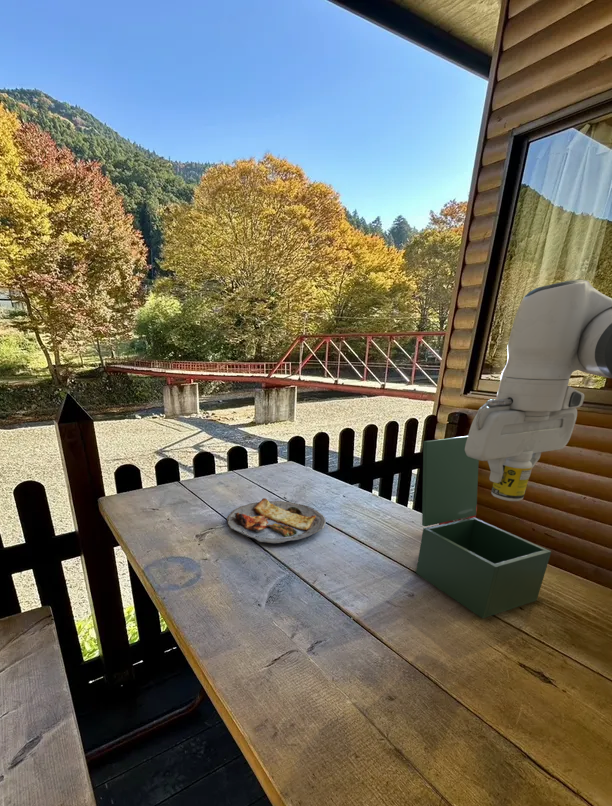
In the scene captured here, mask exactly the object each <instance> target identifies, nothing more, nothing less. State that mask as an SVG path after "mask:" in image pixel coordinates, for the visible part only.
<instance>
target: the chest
mask: <svg viewBox="0 0 612 806" xmlns="http://www.w3.org/2000/svg"><path fill="white" fill-rule="evenodd" d="M420 540H421V541H420V544H419V545H420V546H419V552H418V559H417V564H416V569H415V574H416V575H417V576H419V577H420V578H422V579H424V580H425V581H426V582H428V583H430V584H431V585H433V587H435V588H437V589H438V590H440V591H442V592H443V593H444V594H446V595H448V596H449V597H451V599H453V600H454V601H456V602H457V603H459V604H460V605H462V606H463V607H465V608H466V609H468V610H470V611H471V612H472V613H474V614H475V615H477V616H478V617H480V618H481V619H486V618H490V617H493V616H495V615H499V614H502V613H504V612H506V611H509V610H512V609H516V608H519V607H522V606H524V605H527V604H530V603H534V602H537V601H538V598H539V595H540V591H541V588H542V585H543V581H544V577H545V576H546V575H545V574H546V571H547V568H548V565H549V562H550V558H551V554H552V550H550V549H547V548H545V547H543V546H540V545H538V544H535V543H534V542H531V541H529V540H527V539H524V538H522V537H520V536H518V535H516V534H513V533H511V532H509V531H507V530H504V529H502V528H499V527H497V526H495V525H493V524H490V523H489V522H486V521H484V520H482V519H480V518H477V517H473V518H468V519H464V520H459V521H455V522H450V523H445V524H441V525H439V524H435V525H431V526H426V527H423V529H422V535H421V539H420Z"/></svg>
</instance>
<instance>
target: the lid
mask: <svg viewBox="0 0 612 806" xmlns="http://www.w3.org/2000/svg"><path fill="white" fill-rule="evenodd" d="M467 438H468V435H464V436H456V437H447V438H439V439H432V440H424V441H423V445H422V446H423V449H422V450H423V452H422V455H423V456H422V504H421V505H422V508H421V510H422V511H421V513H422V514H421V526H423V527H431V526H435V525H439V523H443V522H448V521H453V520H457V519H462V518H467V517H471V516H477V512H476V509H477V510H478V487H479V485H478V482H479V462H480V460H477V459H473V458H470V457H468V456H467V455H466V453H465V445H466V441H467Z"/></svg>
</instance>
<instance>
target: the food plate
mask: <svg viewBox="0 0 612 806" xmlns="http://www.w3.org/2000/svg"><path fill="white" fill-rule="evenodd" d="M269 521H273V522H275V523H272V524H269ZM326 521H327V520H326V517H325V516H324V514H323V513H321V512H320V511H319V510H317V509H316V508H314V507H311V506H308V505H305V504H300V503H296V502H292V501H285V500H284V501H283V500H268V499H267V498H262V499H261V500H260V501H259V502H258V501H257V502H251V503H248V504H245V505H241V506H238V507H236V508H235V509H233V510H232V511H231V512H230V513H229V514H228V515H227V517H226V524H227V527H228V528H230V529H232V530H233V531H236V532H238V533H239V534H241V535H243V536H246V537H247V538H252V539H255V540H256V541H257V542H260V543H268V544H281V543H286V542H290V541H299V540H301V539H305V538H308V537H310V536H312V535H315V534H317V533H318V532H320V531H322V530H323V529H325V525H326V524H327V522H326ZM265 529H271V530H272V531H274V532H276V533H278V534H279V535H281V536H282V537H281V538H271V537H259V536H258V535H254V534H252V536H251V535H249V534H250V532H248V531H251V532H256V533H260V532H262V531H264V530H265ZM245 530H246V531H245ZM247 530H248V531H247ZM243 531H244V532H243ZM299 531H301V533H299V534H298V532H299ZM302 531H303V532H302ZM297 534H298V535H297Z"/></svg>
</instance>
